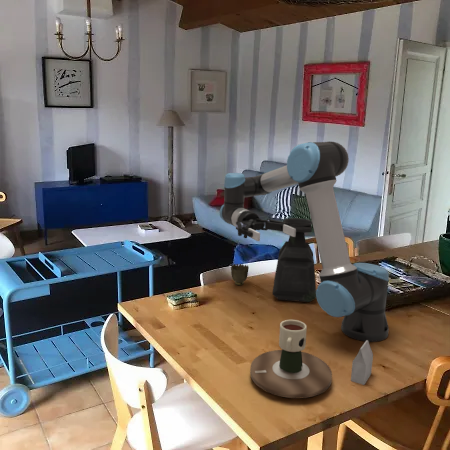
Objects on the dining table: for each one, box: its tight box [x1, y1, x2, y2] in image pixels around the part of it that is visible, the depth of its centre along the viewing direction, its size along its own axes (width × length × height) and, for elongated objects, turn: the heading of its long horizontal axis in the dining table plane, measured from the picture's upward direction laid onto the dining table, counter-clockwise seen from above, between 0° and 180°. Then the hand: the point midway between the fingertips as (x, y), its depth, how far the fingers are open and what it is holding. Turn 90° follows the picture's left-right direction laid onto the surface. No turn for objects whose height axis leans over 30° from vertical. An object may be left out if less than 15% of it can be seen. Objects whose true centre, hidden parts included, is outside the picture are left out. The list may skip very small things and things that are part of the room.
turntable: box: [249, 349, 333, 399], centre depth 133 cm, size 22×22×2 cm
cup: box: [230, 263, 249, 287], centre depth 202 cm, size 8×7×8 cm
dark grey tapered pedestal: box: [272, 217, 317, 303], centre depth 189 cm, size 18×16×30 cm
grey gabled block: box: [350, 340, 374, 386], centre depth 135 cm, size 4×7×10 cm, turn 148°
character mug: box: [278, 319, 308, 373], centre depth 131 cm, size 11×7×13 cm, turn 161°
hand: (277, 235), depth 158 cm, fingers open, 13 cm apart
